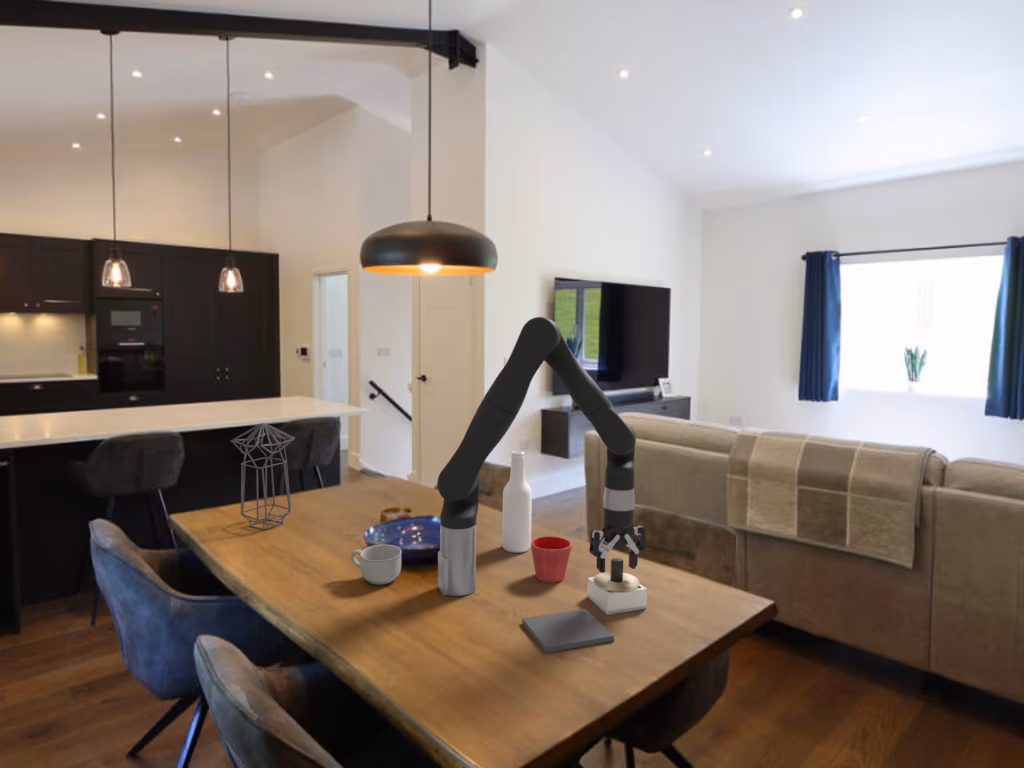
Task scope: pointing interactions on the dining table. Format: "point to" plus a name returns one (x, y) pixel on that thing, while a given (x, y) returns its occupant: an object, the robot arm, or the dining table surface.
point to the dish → (616, 599)
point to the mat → (567, 630)
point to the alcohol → (517, 508)
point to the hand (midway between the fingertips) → (617, 569)
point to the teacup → (379, 563)
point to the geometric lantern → (234, 441)
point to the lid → (616, 579)
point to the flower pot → (550, 557)
